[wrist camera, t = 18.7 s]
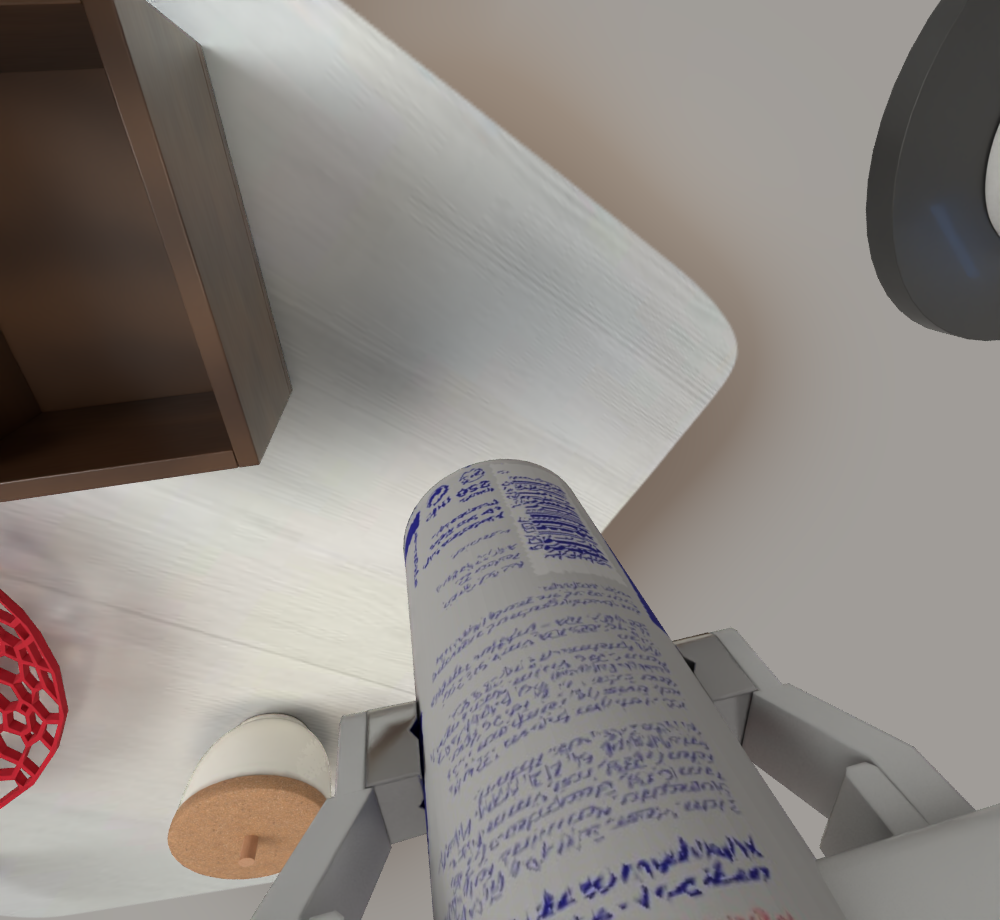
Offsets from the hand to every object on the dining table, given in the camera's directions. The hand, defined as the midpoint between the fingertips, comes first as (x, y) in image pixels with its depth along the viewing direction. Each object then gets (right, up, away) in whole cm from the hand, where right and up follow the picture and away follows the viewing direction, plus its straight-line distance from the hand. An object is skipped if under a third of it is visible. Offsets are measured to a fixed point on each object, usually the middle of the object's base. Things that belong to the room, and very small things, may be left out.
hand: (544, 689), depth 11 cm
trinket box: (-20, -18, +33) cm, 43 cm away
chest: (-21, +16, +16) cm, 30 cm away
